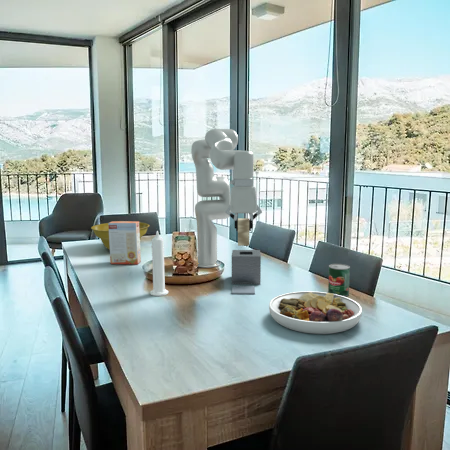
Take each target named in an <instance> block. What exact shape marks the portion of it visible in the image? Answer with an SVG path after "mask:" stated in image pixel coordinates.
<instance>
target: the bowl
mask: <svg viewBox="0 0 450 450" xmlns="http://www.w3.org/2000/svg"><path fill="white" fill-rule="evenodd" d="M268 307H269V308H268V310H269V313H270V316H271V318H272V319H273V320H274V321H275V322H276V323H278V324H280V325H281V326H283V327H285V328H286V329H290V330H292V331H296V332H300V333H305V334H311V335H329V334H338V333H342V332H345V331H349V330H350V329H352V328H354V327H355V326H356V325H357V324H358V323H359V322H360V320H361V318H362V316H363V308H362V306H361V305H360V303H358V302H357V301H355V300H353V299H351V298H349V297H348V296H345V297H344V296H341V295H337V294H333V293H328V292H325V291H324V292H323V291H309V290H308V291H307V290H306V291H305V290H304V291H294V292H293V291H291V292H287V293H283V294H280V295H278V296H275V297H273V298H271V300H270V301H269V304H268Z"/></svg>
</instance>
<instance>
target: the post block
mask: <svg viewBox="0 0 450 450" xmlns="http://www.w3.org/2000/svg"><path fill="white" fill-rule="evenodd" d="M261 259H262V257H261V249H232V251H231V285H260V286H261V280H262V279H261V272H262V270H261V269H262V267H261V264H262V263H261Z"/></svg>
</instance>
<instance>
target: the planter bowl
mask: <svg viewBox="0 0 450 450" xmlns="http://www.w3.org/2000/svg"><path fill="white" fill-rule="evenodd" d="M108 223H109V222H106V223H105V222H104V223H100V224H96V225H93V226H91V227H90V229H91V230H92V231H93V233H94V235H95V236H96V237H97V238H99V239H100V241H101V242H102V244H103V245H104V247H105V248H106V249H107V250H109V251H110V245H109V225H108ZM149 227H150V224H148V223H146V222H141V221H139V231H140V241H141V239H142V237H143V236H145V235H146V233H147V232H148V228H149Z"/></svg>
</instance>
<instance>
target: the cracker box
mask: <svg viewBox="0 0 450 450" xmlns="http://www.w3.org/2000/svg"><path fill="white" fill-rule="evenodd" d="M139 222H140V221H139V220H138V221H134V220H133V221H130V220H128V221H127V220H125V221H124V220H119V221H118V220H117V221H116V220H115V221H110V222H107V223H108V225H109V245H110V250H109V260H110V264H111V265H139V263H141V262H142V258H141V240H140V231H139Z"/></svg>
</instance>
